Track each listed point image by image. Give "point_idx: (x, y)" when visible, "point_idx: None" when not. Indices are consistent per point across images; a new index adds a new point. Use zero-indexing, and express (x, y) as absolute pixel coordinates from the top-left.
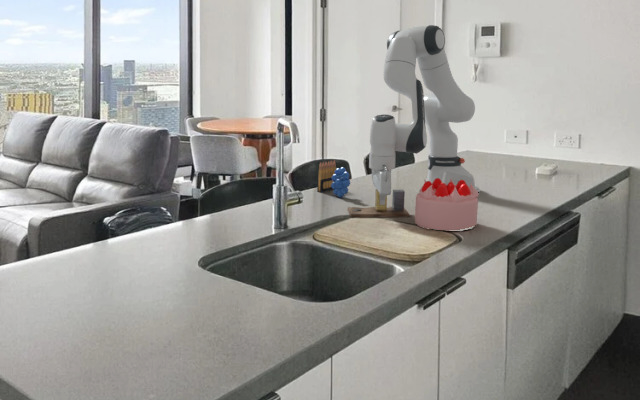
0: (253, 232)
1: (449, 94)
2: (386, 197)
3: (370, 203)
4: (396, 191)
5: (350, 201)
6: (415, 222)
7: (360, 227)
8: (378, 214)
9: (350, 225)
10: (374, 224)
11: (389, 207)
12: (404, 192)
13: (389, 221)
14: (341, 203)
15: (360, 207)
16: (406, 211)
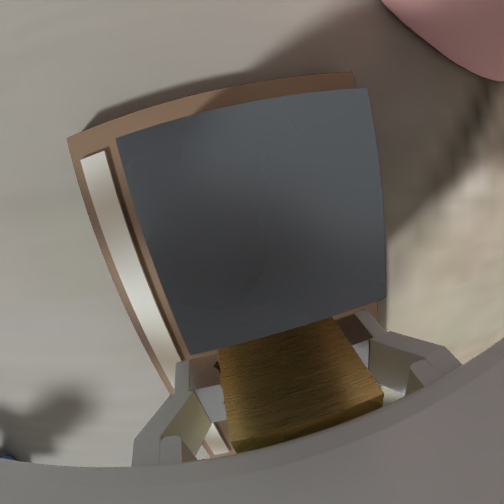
0: None
1: None
2: (344, 341)
3: (13, 374)
4: (375, 263)
5: (39, 441)
6: (495, 80)
7: (500, 318)
8: (375, 303)
9: (475, 355)
10: (485, 281)
11: (139, 260)
12: (357, 91)
13: (454, 217)
14: (96, 466)
15: (212, 423)
16: (259, 90)
